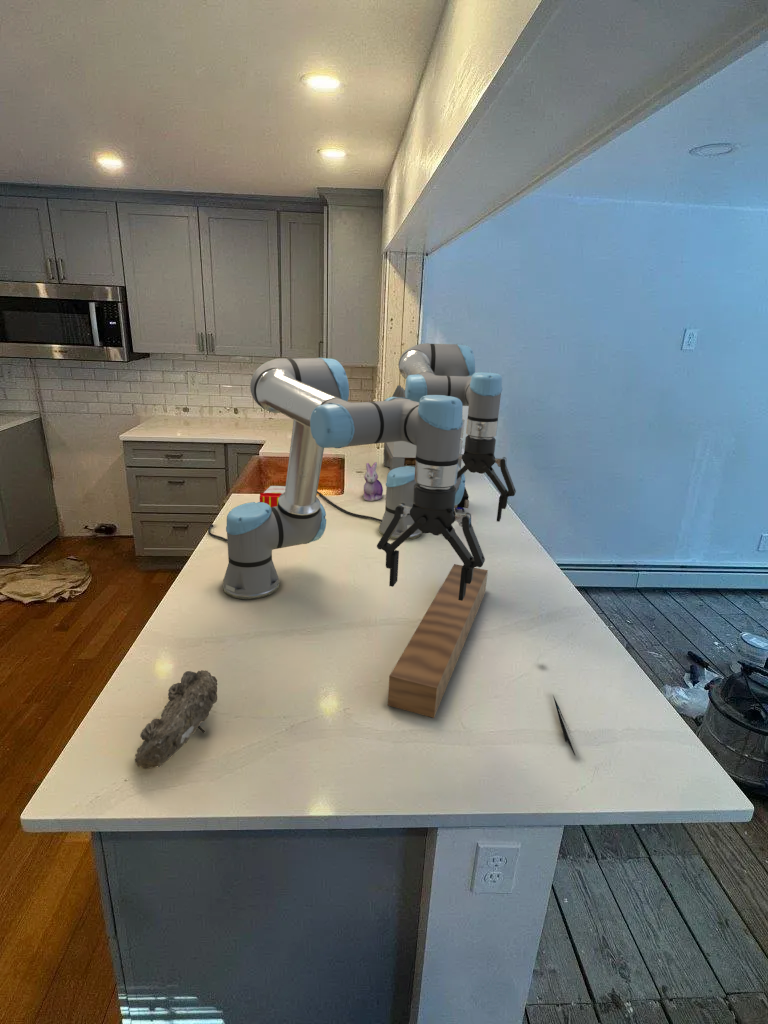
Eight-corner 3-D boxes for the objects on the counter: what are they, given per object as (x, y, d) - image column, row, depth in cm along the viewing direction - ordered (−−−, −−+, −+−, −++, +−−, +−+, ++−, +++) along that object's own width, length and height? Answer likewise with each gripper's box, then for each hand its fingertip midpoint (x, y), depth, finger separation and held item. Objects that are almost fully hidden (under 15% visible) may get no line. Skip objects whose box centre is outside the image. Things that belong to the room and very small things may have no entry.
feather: (542, 671, 128) (548, 665, 128) (575, 760, 102) (582, 753, 101) (536, 667, 128) (542, 661, 128) (567, 755, 102) (574, 748, 101)
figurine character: (469, 517, 223) (463, 501, 236) (471, 500, 219) (465, 484, 233) (452, 516, 222) (447, 500, 236) (454, 499, 219) (449, 483, 232)
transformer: (382, 463, 289) (386, 382, 275) (445, 464, 293) (451, 384, 279) (390, 482, 257) (394, 392, 243) (460, 483, 261) (468, 394, 247)
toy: (300, 481, 221) (289, 494, 192) (300, 514, 224) (289, 533, 194) (268, 480, 221) (253, 493, 191) (269, 514, 223) (254, 532, 194)
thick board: (452, 586, 164) (454, 563, 161) (485, 592, 161) (487, 570, 159) (387, 705, 113) (389, 675, 111) (434, 718, 110) (436, 688, 108)
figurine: (367, 502, 230) (368, 467, 225) (357, 495, 238) (358, 460, 233) (388, 500, 234) (389, 465, 229) (377, 492, 242) (378, 458, 237)
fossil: (167, 671, 114) (219, 638, 109) (200, 702, 116) (252, 671, 112) (109, 762, 94) (169, 727, 89) (151, 796, 97) (212, 765, 92)
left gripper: (362, 480, 102) (359, 586, 109) (502, 500, 94) (488, 612, 101) (376, 470, 108) (372, 570, 116) (508, 488, 101) (495, 594, 108)
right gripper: (428, 433, 142) (423, 513, 149) (530, 445, 135) (519, 528, 142) (436, 428, 149) (430, 504, 156) (533, 439, 141) (522, 518, 149)
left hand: (426, 590), depth 108 cm, fingers open, 13 cm apart
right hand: (472, 516), depth 149 cm, fingers open, 13 cm apart
